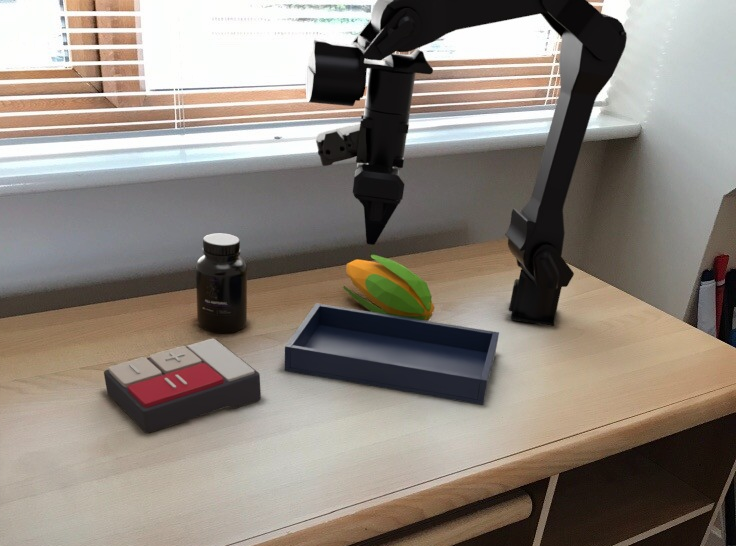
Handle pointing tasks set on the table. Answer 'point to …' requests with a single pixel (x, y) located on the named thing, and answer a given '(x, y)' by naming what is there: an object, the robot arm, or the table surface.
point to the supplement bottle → (221, 285)
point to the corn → (390, 288)
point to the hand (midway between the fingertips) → (371, 233)
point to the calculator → (182, 384)
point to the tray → (393, 353)
